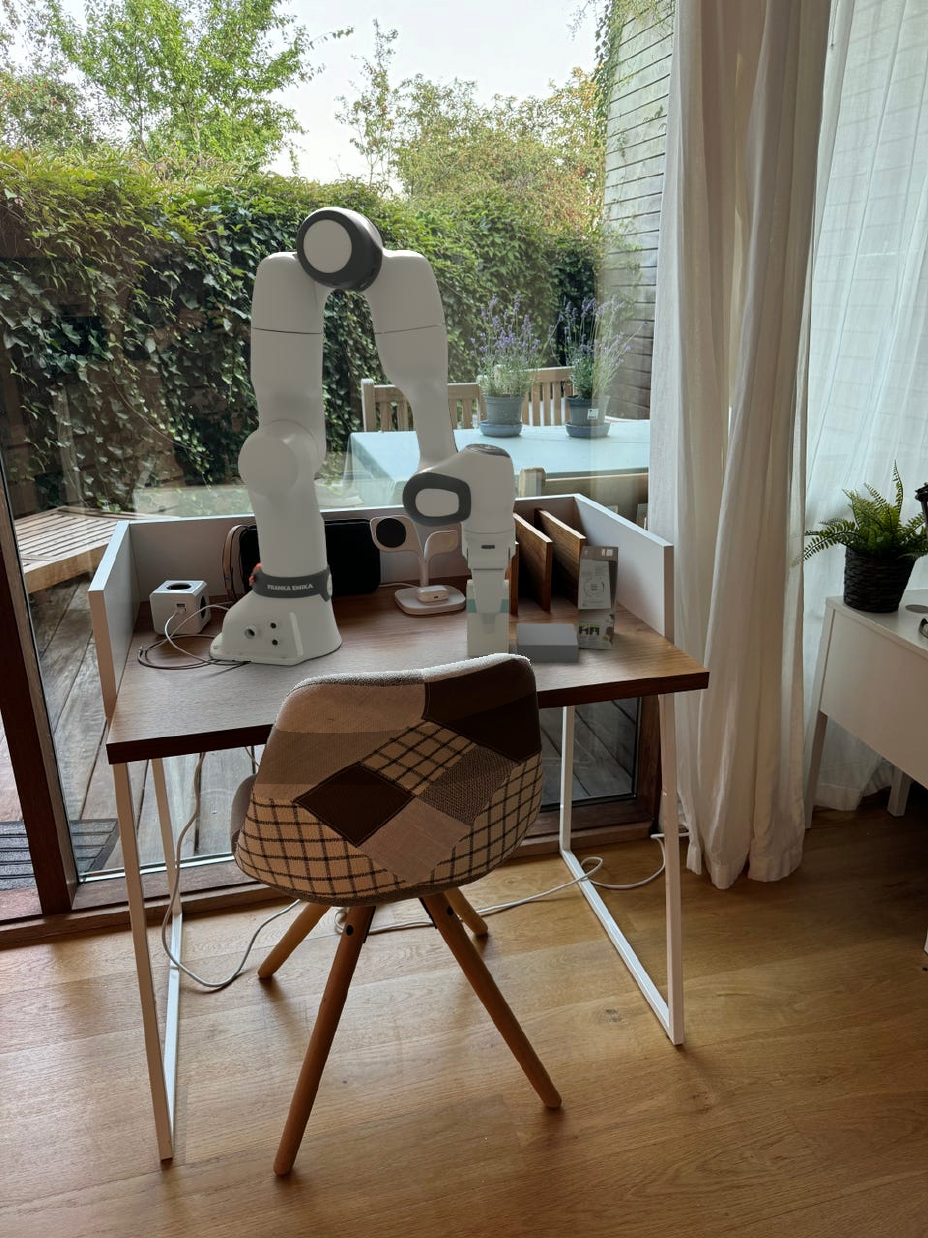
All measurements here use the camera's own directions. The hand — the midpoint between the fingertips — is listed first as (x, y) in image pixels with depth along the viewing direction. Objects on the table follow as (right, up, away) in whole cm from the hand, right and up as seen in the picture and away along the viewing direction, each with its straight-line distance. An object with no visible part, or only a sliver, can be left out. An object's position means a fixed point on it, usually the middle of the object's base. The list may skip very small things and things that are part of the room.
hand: (489, 622), depth 150 cm
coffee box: (+19, -3, +6) cm, 20 cm away
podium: (+10, -5, +1) cm, 11 cm away
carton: (0, -5, +2) cm, 5 cm away
